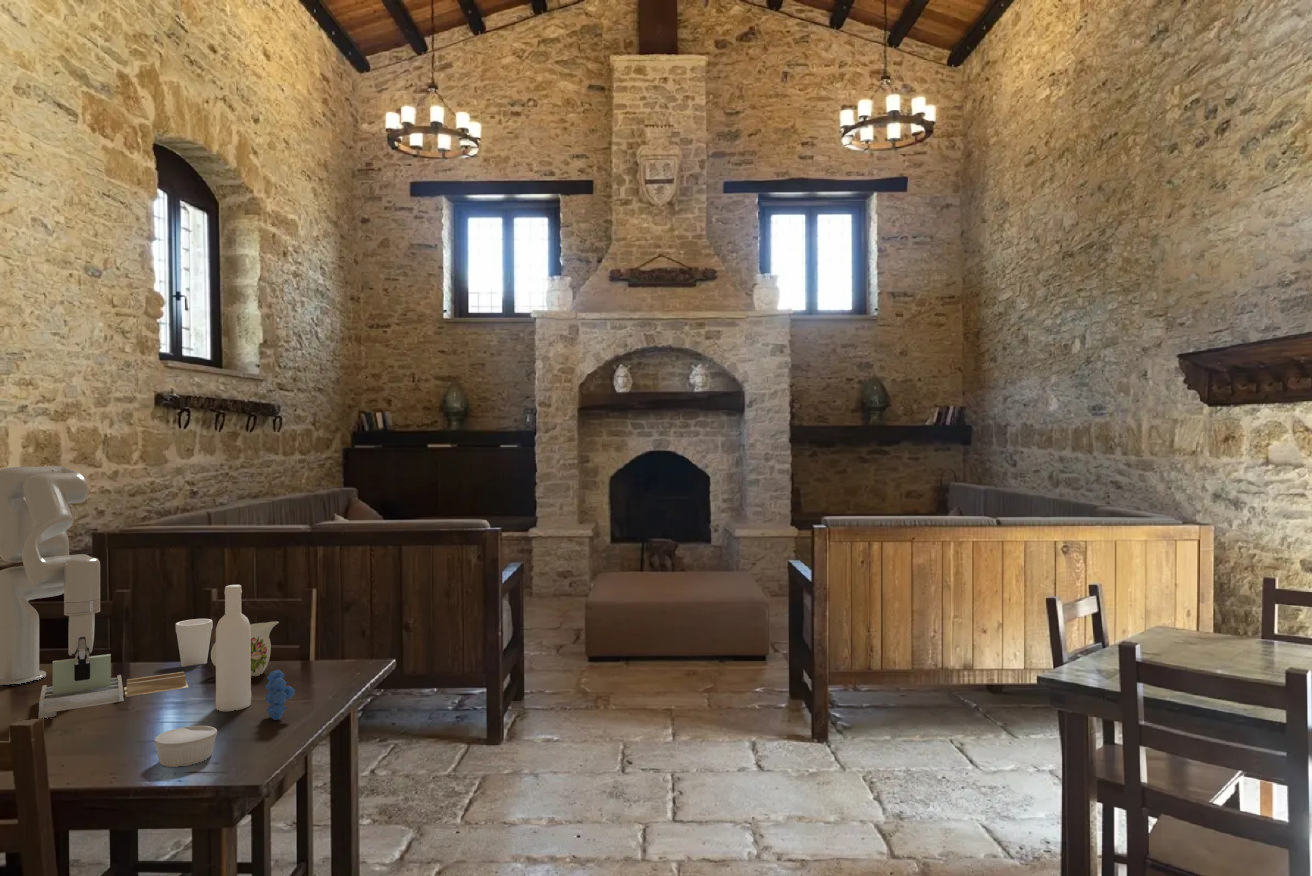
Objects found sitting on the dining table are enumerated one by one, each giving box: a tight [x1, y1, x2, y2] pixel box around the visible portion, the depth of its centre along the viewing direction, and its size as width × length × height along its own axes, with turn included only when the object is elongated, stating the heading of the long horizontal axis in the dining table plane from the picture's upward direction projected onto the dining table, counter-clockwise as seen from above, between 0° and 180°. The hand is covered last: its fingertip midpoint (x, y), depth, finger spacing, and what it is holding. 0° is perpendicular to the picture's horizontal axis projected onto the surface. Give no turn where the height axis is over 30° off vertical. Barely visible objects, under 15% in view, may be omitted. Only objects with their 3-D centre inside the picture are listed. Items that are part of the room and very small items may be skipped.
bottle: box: [215, 584, 252, 712], centre depth 205 cm, size 8×8×30 cm
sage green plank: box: [52, 653, 112, 694], centre depth 208 cm, size 2×12×10 cm, turn 125°
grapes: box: [264, 669, 296, 721], centre depth 196 cm, size 12×7×12 cm, turn 36°
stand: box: [123, 671, 189, 698], centre depth 217 cm, size 10×14×4 cm
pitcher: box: [210, 621, 280, 677], centre depth 234 cm, size 11×18×14 cm, turn 134°
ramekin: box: [153, 725, 218, 768], centre depth 171 cm, size 11×11×5 cm
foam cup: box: [175, 618, 213, 668], centre depth 244 cm, size 10×9×13 cm
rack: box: [38, 674, 125, 720], centre depth 208 cm, size 18×17×4 cm
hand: (82, 675), depth 208 cm, fingers open, 8 cm apart
